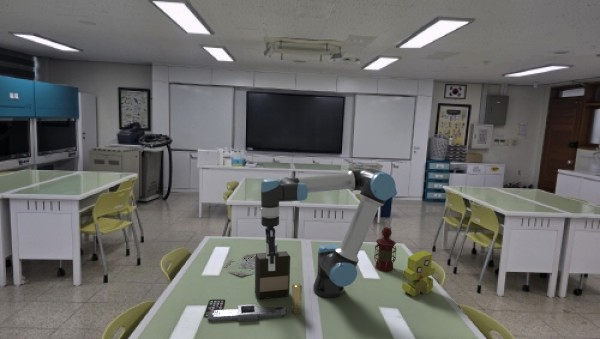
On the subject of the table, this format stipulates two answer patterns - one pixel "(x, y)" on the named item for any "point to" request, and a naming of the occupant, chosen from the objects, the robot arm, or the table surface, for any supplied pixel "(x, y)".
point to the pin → (296, 298)
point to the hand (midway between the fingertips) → (270, 264)
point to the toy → (419, 273)
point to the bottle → (272, 275)
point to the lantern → (385, 251)
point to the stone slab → (250, 262)
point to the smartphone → (214, 306)
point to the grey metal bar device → (246, 313)
